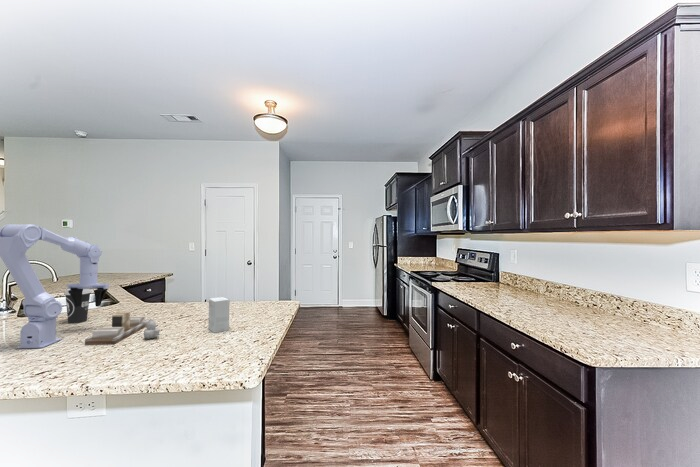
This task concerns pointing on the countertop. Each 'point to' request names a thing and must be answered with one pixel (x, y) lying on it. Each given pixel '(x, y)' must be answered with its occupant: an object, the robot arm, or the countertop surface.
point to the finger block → (121, 320)
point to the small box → (218, 314)
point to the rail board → (116, 332)
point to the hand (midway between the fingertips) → (88, 306)
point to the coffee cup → (78, 312)
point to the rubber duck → (151, 330)
